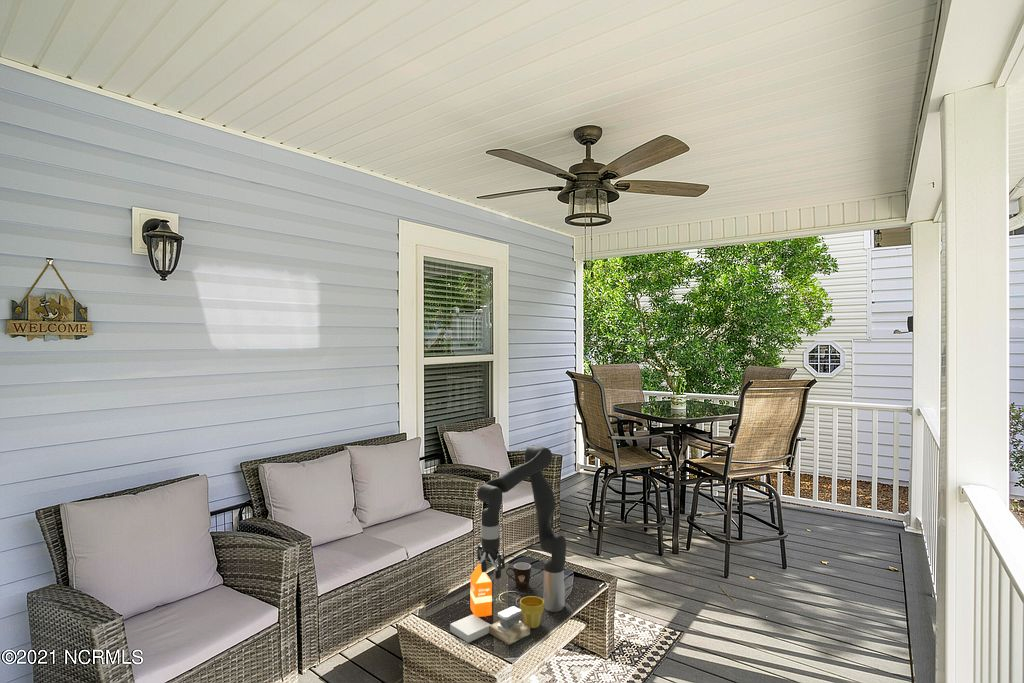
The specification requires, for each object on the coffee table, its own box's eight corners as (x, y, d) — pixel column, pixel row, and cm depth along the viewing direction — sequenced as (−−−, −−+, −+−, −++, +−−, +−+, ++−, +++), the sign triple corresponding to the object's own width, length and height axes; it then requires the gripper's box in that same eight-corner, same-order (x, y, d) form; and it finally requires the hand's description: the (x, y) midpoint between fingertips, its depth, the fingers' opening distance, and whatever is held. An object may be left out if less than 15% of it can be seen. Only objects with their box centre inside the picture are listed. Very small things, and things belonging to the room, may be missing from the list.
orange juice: (486, 605, 244) (486, 561, 245) (492, 615, 236) (492, 569, 236) (469, 608, 242) (470, 563, 242) (474, 617, 233) (475, 571, 234)
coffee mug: (534, 585, 266) (534, 565, 266) (525, 591, 259) (525, 571, 259) (514, 579, 272) (514, 559, 272) (505, 586, 265) (505, 565, 265)
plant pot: (529, 615, 236) (529, 593, 236) (548, 623, 229) (548, 600, 229) (514, 625, 228) (514, 601, 228) (534, 633, 221) (534, 609, 221)
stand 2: (510, 622, 229) (510, 615, 229) (530, 633, 221) (530, 626, 221) (489, 633, 221) (489, 625, 221) (508, 644, 212) (509, 637, 212)
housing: (513, 620, 226) (513, 605, 226) (521, 624, 222) (521, 610, 222) (497, 627, 220) (497, 612, 220) (505, 632, 216) (505, 617, 216)
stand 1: (472, 621, 231) (472, 614, 231) (490, 632, 222) (490, 624, 222) (450, 631, 222) (450, 623, 222) (468, 642, 214) (468, 635, 214)
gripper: (509, 537, 214) (509, 577, 214) (486, 528, 224) (486, 567, 224) (495, 542, 208) (495, 584, 209) (472, 533, 219) (472, 572, 219)
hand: (490, 575), depth 216 cm, fingers open, 8 cm apart
